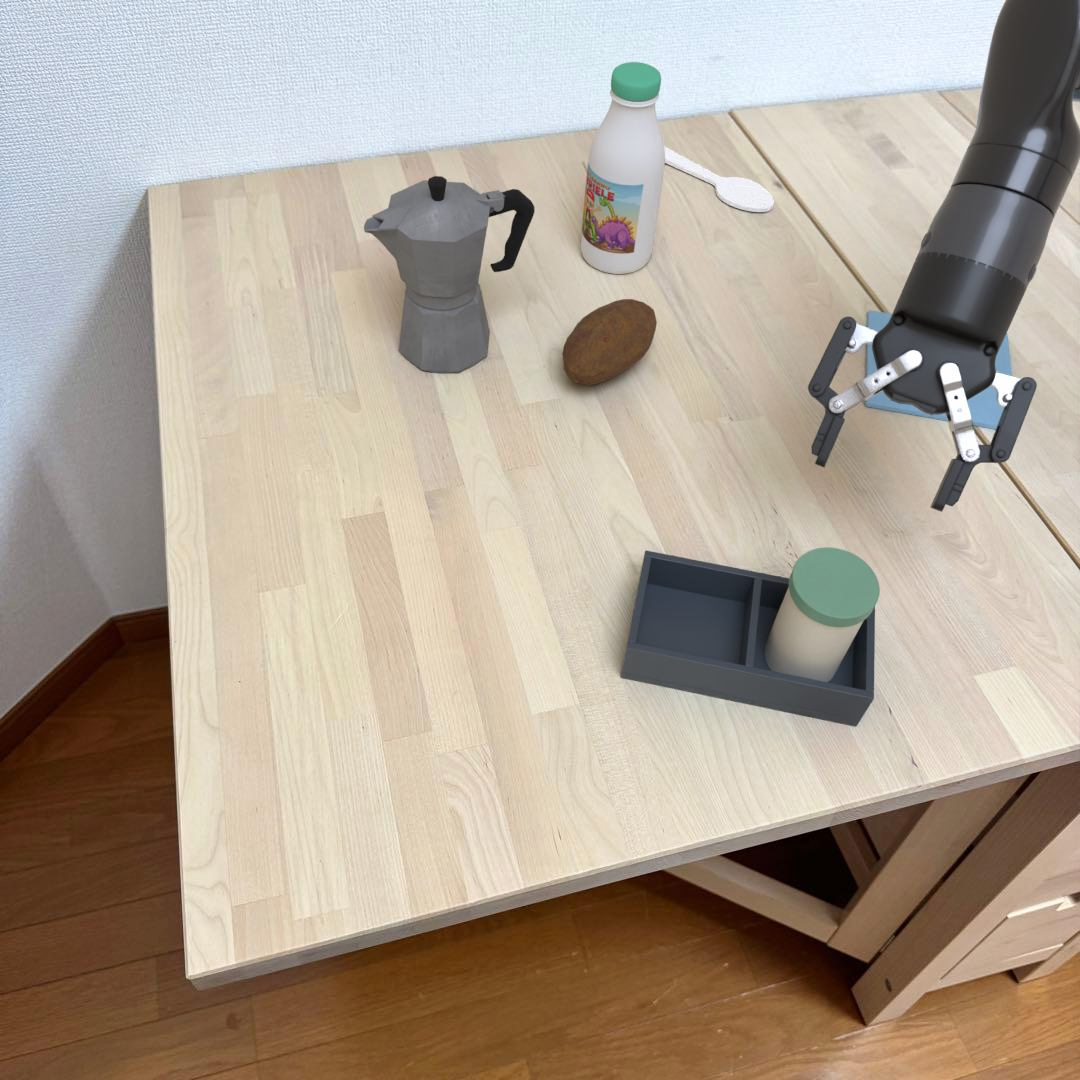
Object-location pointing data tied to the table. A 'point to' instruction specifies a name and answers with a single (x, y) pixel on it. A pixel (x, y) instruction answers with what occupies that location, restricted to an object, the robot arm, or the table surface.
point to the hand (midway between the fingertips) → (876, 487)
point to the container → (821, 613)
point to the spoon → (726, 185)
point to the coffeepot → (446, 266)
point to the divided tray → (733, 641)
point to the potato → (609, 341)
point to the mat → (980, 408)
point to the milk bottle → (625, 174)
